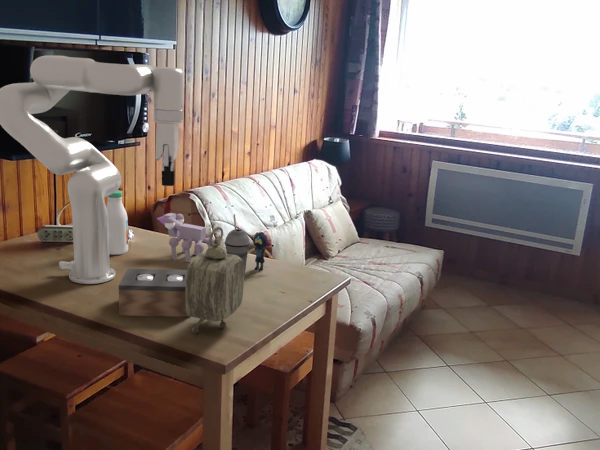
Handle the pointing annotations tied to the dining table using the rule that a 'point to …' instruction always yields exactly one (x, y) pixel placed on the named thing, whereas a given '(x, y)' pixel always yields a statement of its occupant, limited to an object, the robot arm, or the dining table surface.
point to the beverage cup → (237, 243)
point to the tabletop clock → (214, 284)
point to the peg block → (152, 294)
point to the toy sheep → (184, 235)
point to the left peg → (145, 277)
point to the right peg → (175, 278)
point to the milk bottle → (117, 224)
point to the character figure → (260, 250)
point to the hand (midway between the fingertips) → (168, 185)
